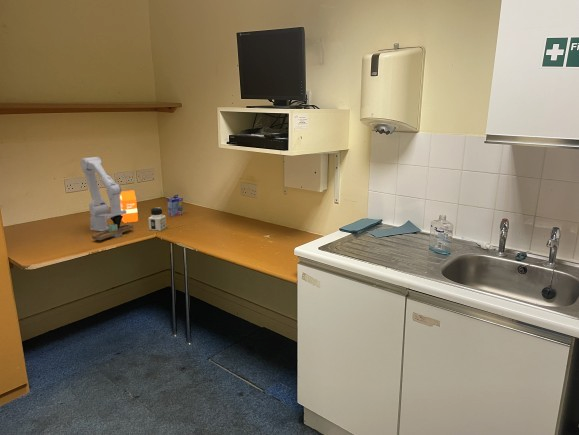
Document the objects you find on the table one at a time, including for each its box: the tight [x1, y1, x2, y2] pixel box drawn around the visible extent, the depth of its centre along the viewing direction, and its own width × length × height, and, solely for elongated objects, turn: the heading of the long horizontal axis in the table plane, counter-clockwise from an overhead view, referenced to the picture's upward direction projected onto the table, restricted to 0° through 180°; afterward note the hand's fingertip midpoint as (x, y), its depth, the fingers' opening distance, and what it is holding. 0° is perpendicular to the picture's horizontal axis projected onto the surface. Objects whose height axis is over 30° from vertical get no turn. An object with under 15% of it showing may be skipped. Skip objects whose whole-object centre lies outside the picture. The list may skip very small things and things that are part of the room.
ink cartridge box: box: [166, 194, 184, 218], centre depth 307 cm, size 10×6×14 cm, turn 145°
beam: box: [91, 223, 135, 241], centre depth 261 cm, size 8×26×4 cm, turn 156°
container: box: [148, 207, 167, 231], centre depth 275 cm, size 8×8×13 cm
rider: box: [107, 223, 118, 232], centre depth 260 cm, size 3×4×4 cm
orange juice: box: [120, 189, 139, 224], centre depth 292 cm, size 8×9×20 cm
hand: (117, 227), depth 263 cm, fingers closed
